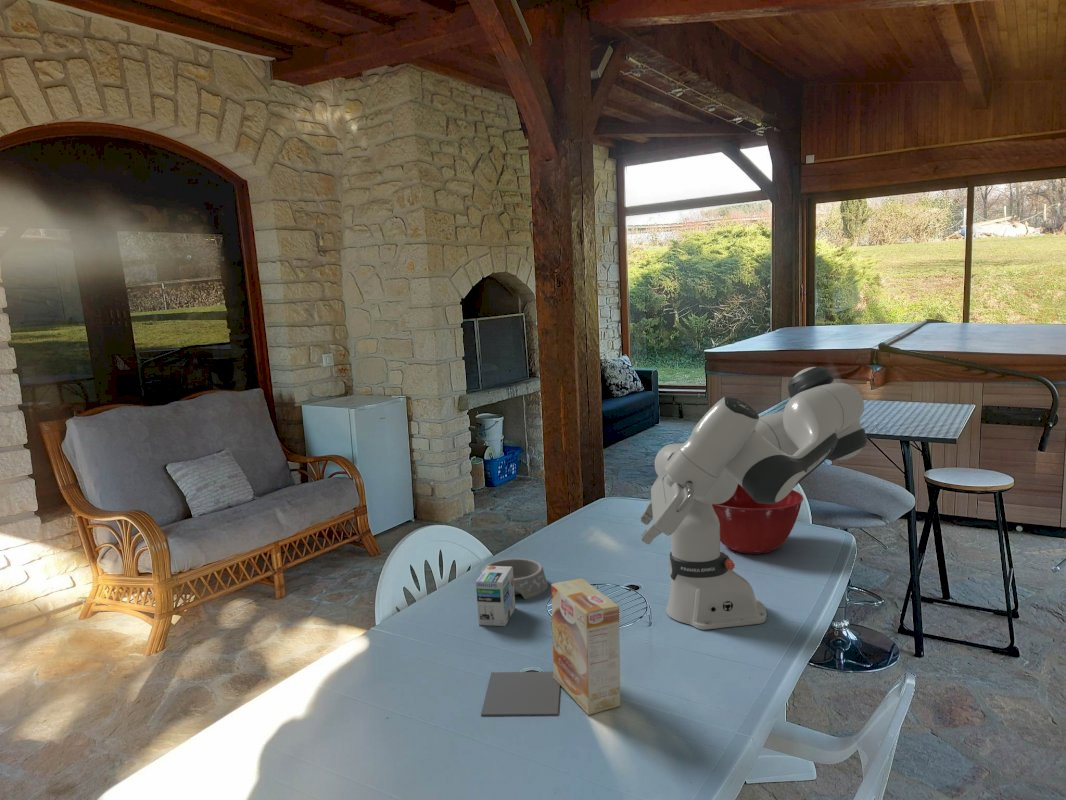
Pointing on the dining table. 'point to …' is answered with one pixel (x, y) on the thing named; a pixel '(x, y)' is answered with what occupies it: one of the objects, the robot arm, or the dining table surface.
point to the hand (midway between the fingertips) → (643, 531)
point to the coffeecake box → (586, 645)
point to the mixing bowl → (756, 522)
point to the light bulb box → (495, 595)
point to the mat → (521, 694)
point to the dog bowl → (525, 576)
